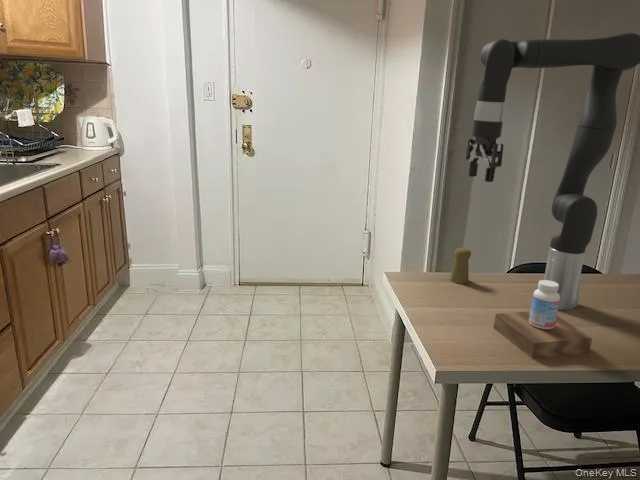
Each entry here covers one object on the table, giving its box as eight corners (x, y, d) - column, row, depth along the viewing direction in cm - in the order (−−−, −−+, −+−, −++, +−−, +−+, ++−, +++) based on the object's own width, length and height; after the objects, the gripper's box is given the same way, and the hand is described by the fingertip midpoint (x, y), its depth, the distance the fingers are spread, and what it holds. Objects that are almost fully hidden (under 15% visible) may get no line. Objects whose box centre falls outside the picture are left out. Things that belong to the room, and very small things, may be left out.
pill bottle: (549, 332, 124) (557, 289, 120) (524, 324, 127) (531, 282, 124) (558, 325, 128) (565, 283, 125) (533, 317, 132) (540, 276, 129)
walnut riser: (545, 323, 138) (548, 309, 137) (589, 352, 123) (592, 337, 122) (493, 327, 134) (495, 313, 133) (531, 358, 119) (534, 343, 118)
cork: (469, 284, 163) (473, 252, 160) (449, 282, 164) (454, 250, 161) (467, 278, 169) (472, 246, 166) (449, 276, 170) (453, 245, 167)
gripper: (516, 121, 131) (507, 183, 136) (486, 117, 145) (478, 174, 149) (490, 120, 130) (482, 183, 134) (462, 117, 143) (455, 174, 147)
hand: (480, 178), depth 142 cm, fingers open, 8 cm apart
